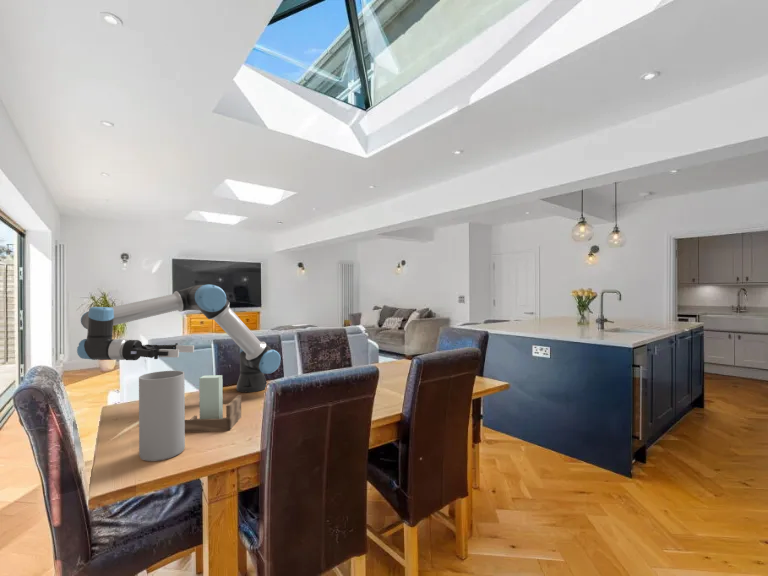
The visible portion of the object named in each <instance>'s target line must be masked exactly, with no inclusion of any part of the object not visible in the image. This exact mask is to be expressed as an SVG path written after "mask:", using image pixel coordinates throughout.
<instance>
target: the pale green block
mask: <svg viewBox="0 0 768 576" xmlns="http://www.w3.org/2000/svg"><path fill="white" fill-rule="evenodd" d="M223 383H224V382H223V374H221V375H220V374H219V375H217V374H215V375H214V374H213V375H202V376H201V377H199V383H198V385H199V390H198V391H199V393H198V395H199V396H198V397H199V402H198V403H199V404H198V405H199V419H223V418H224V417H223V416H224V414H223V413H224V410H223V409H224V406H223V405H224V402H223V401H224V399H223V395H224V393H223V386H224V385H223Z"/></svg>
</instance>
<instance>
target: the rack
mask: <svg viewBox="0 0 768 576" xmlns="http://www.w3.org/2000/svg"><path fill="white" fill-rule="evenodd" d="M225 410H226V412H225V414H226V415H225V416H226V417H223V419H200V418H198V415H194V416H192V417H191V418H189V419H185V433H189V432H190V433H195V432H198V433H199V432H222V431H223V432H224V431H226V432H228V431H231V430H232V429H233V427H234V426H235V425H236V424H237V423H238V422H239V420H241V418H242V394H238V395H236V396H235V397H234V398H233V399H232V400H231V401H230V402H229V403H228V404H227V405H226V406H225Z"/></svg>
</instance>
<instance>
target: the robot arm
mask: <svg viewBox="0 0 768 576" xmlns="http://www.w3.org/2000/svg"><path fill="white" fill-rule="evenodd" d="M230 304H231V303H230V300H228V298H227V295H226V292H225V290H223V288H221V287H220V286H218V285H215V284H209V283H208V284H195V285H193V286H190V287H188V288H183V289H181V290H175V291H174V292H173V294H172V293H171V294H168V295H163V296H162V295H161V296H158V297H153V298H148V299H143V300H138V301H134V302H129V303H124V304H119V305H115V306H109V307H108V306H91V307H89V309H88V311H86V312H84V313H83V314H82V316H81V317H80V323H81V326H82V327H83V328H84V329H86V330H87V335H86V338H84V339H81V340H80V341H79V343H78V346H77V348H76V352H77V355H78V357H79V358H80V359H82V360H92V361H96V360H97V361H99V360H100V361H103V360H104V361H105V360H106V361H116V362H120V361H125V360H126V361H137V360H139V359H140V358H147V359H148V358H150V359H153V360H158V359H159V358H179V357H180V353H193V354H194V353H195V345H193V344H191V345H183V344H181V345H180V344H178V342H177V343H176V342H175V344H145V345H144V344H143V342H142V341H141V340H139V339H119V338H117V339H113V331H114V326H117V325H121V324H125V323H129V322H134V321H138V320H142V319H147V318H151V317H154V316H159V315H163V314H168V313H172V312H176V311H178V312H181V313H182V312H185V311H199V312H201V314H203V316H205V317H206V319H207V320H213V321H214V322H215V323H216V324H217V325H218V326H219V327H220V329H222V330H223V331H224V333H225V334H227V335H228V337H229V338H230V339H232V341H234V343H235V344H236V345H237V346H238V347H239V377H238V381H237V383H236V391H237V392H241V393H254V392H255V393H256V392H261V391H264V390H266V389H265V387H266V384H267V385H268V383H267V379H266V376H265V374H268V375H269V374H272V373H274V372H276V371H277V370H278V369H279V368H280V365H281V359H282V358H281V354H280V353H279V352H278V351H277V350H275V349H272V348H271V347H270V346H269V345H268V343H266V342H265V341H260V340H259V338H258V337H257V336H256V335H255V334H254V333H253V332H252V331H251V330H250V328H249V327H248V326H247V325H246V324H245V323H244V322H243V321H242V320H241V318H240V317H239V316H238V315H237V313H235V311H233V309H232V308H231V307H230Z"/></svg>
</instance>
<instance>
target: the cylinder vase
mask: <svg viewBox="0 0 768 576" xmlns="http://www.w3.org/2000/svg"><path fill="white" fill-rule="evenodd" d="M185 386H186V385H185V371H184V370H183V371H182V370H162V371H154V372H149V373H144V374H142V375H140V376H138V430H139V431H138V432H139V433H138V439H139V440H138V441H139V442H138V443H139V445H138V450H139V452H138V455H139V458H140V459H141V460H142V461H146V462H158V461H165V460H168V459H172V458H174V457H176V456H179V455H180V454H181V453H182V452H183V451H184V450H185V447H186V437H185V436H186V432H185V420H186V419H185V418H186V417H185V415H186V413H185V410H186V409H185V408H186V407H185V406H186V405H185V403H186V401H185V398H186V397H185V394H186V393H185V392H186V390H185Z"/></svg>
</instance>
